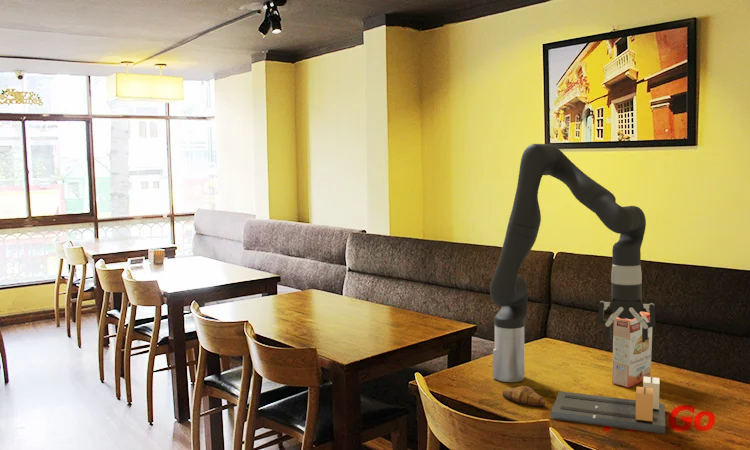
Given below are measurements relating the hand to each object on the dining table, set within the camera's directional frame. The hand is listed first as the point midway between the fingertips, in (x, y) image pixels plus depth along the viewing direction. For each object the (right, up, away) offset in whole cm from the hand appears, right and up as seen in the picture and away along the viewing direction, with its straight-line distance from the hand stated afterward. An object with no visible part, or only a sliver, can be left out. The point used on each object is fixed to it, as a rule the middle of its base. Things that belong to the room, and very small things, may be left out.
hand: (626, 340), depth 174 cm
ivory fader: (+7, -18, +1) cm, 19 cm away
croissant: (-25, -20, +12) cm, 34 cm away
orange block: (+2, -19, -6) cm, 20 cm away
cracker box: (+12, -18, +27) cm, 34 cm away
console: (-4, -20, +2) cm, 21 cm away
